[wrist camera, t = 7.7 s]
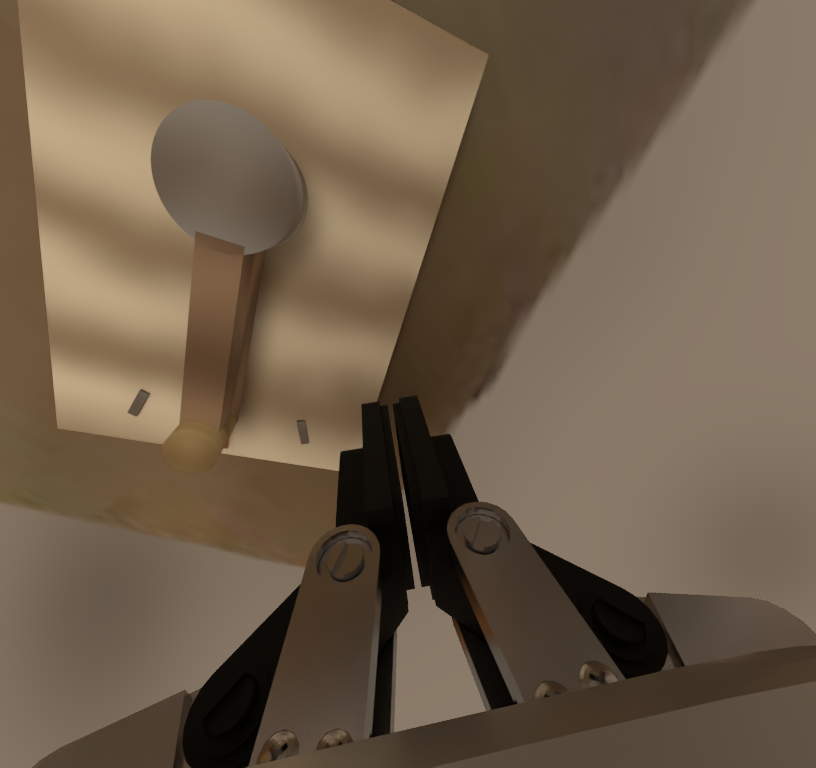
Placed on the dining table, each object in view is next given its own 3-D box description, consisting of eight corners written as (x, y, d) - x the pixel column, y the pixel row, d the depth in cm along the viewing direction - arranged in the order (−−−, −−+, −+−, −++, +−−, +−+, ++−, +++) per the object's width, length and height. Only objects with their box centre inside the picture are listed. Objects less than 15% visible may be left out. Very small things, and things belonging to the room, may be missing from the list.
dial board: (67, -130, 13) (-10, -226, 10) (468, 79, 18) (490, 53, 15) (92, 404, 23) (55, 430, 20) (353, 448, 27) (353, 475, 24)
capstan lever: (202, 108, 14) (135, 57, 10) (317, 156, 16) (304, 129, 11) (175, 436, 21) (128, 493, 16) (259, 450, 22) (236, 506, 18)
